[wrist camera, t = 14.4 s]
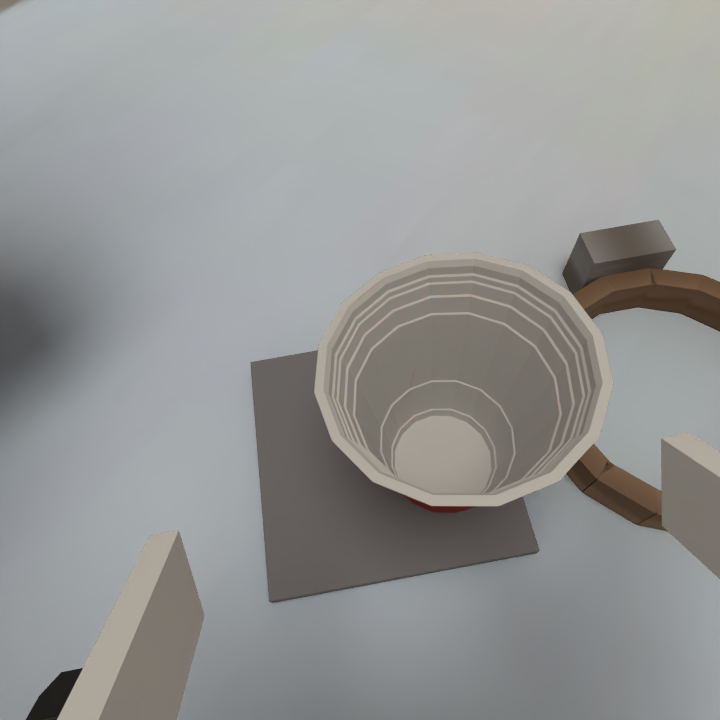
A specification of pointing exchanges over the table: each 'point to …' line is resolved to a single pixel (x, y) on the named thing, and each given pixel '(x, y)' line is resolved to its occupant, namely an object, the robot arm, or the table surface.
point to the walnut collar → (624, 291)
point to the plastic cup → (463, 380)
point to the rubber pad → (352, 503)
